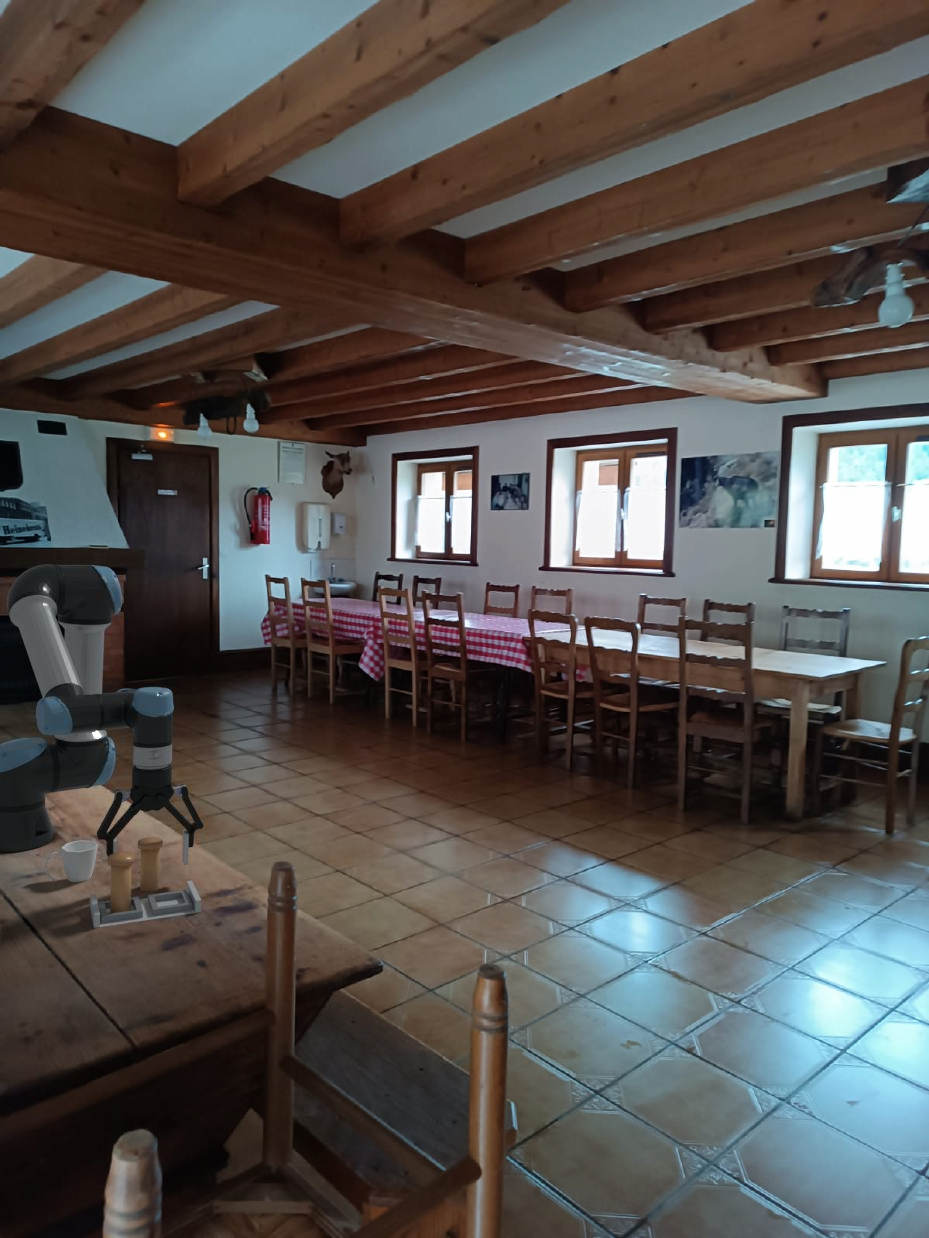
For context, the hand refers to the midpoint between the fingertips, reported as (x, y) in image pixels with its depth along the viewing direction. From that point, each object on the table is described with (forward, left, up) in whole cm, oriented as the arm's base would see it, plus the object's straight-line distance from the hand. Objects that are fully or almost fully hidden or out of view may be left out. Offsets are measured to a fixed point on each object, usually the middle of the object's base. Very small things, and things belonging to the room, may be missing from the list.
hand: (150, 867), depth 173 cm
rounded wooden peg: (+10, -7, -4) cm, 12 cm away
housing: (+10, -2, -6) cm, 11 cm away
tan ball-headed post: (0, 0, -6) cm, 6 cm away
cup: (-10, -14, -6) cm, 18 cm away
